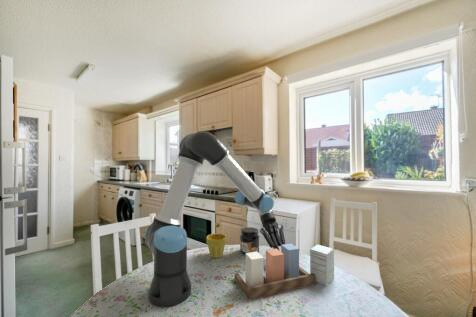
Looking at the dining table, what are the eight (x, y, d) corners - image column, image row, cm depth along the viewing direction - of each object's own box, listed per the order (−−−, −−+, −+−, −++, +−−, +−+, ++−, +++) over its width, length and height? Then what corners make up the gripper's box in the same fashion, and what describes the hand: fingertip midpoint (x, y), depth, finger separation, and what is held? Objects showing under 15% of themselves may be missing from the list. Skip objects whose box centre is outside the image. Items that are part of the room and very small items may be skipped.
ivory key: (251, 291, 81) (251, 259, 81) (245, 283, 87) (245, 253, 87) (263, 289, 83) (263, 257, 83) (256, 281, 88) (256, 251, 88)
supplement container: (242, 257, 111) (242, 233, 111) (237, 249, 121) (237, 227, 121) (262, 255, 113) (262, 232, 114) (255, 247, 124) (255, 226, 124)
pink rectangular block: (272, 287, 84) (272, 256, 84) (265, 279, 90) (265, 250, 90) (284, 284, 86) (284, 254, 86) (276, 277, 91) (276, 248, 92)
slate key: (288, 279, 90) (288, 250, 90) (281, 272, 95) (281, 244, 95) (299, 277, 91) (299, 248, 92) (291, 270, 97) (291, 243, 97)
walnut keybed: (248, 300, 76) (248, 289, 76) (234, 279, 90) (234, 269, 90) (315, 284, 86) (315, 274, 86) (294, 267, 100) (294, 259, 100)
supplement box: (317, 272, 96) (317, 243, 96) (334, 279, 90) (334, 248, 91) (309, 279, 91) (309, 248, 91) (327, 286, 85) (327, 254, 85)
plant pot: (202, 256, 112) (202, 237, 112) (215, 249, 120) (215, 232, 120) (217, 261, 106) (217, 241, 106) (230, 254, 114) (230, 235, 114)
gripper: (275, 218, 119) (292, 262, 103) (253, 220, 114) (268, 266, 99) (280, 210, 114) (299, 255, 98) (257, 212, 110) (274, 260, 94)
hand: (283, 261), depth 98 cm, fingers closed
